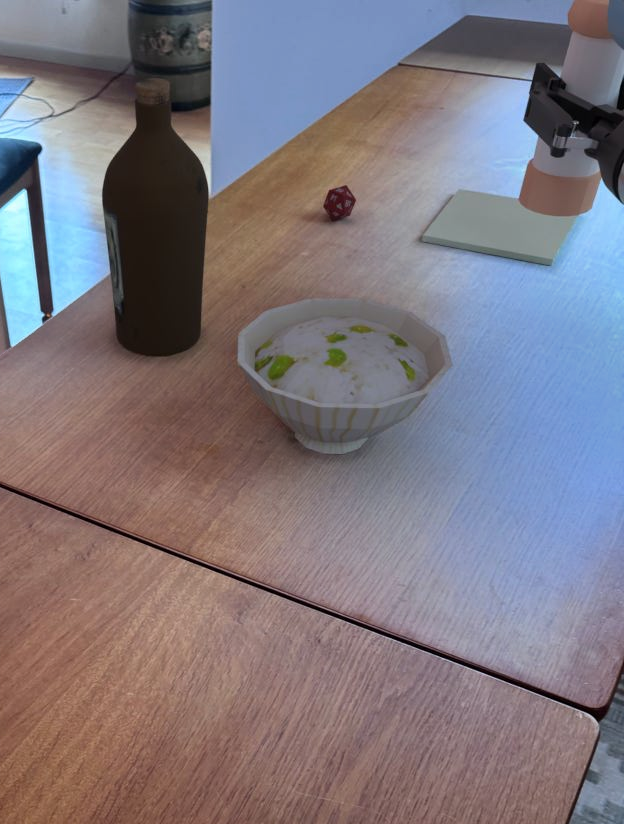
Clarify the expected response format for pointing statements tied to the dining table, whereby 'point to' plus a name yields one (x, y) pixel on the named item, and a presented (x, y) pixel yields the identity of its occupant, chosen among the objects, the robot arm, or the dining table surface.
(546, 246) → the tile
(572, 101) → the robot arm
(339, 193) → the dice
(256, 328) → the bowl
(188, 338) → the olive oil
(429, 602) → the dining table surface
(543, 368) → the dining table surface
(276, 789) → the dining table surface
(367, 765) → the dining table surface
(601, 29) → the salt shaker
